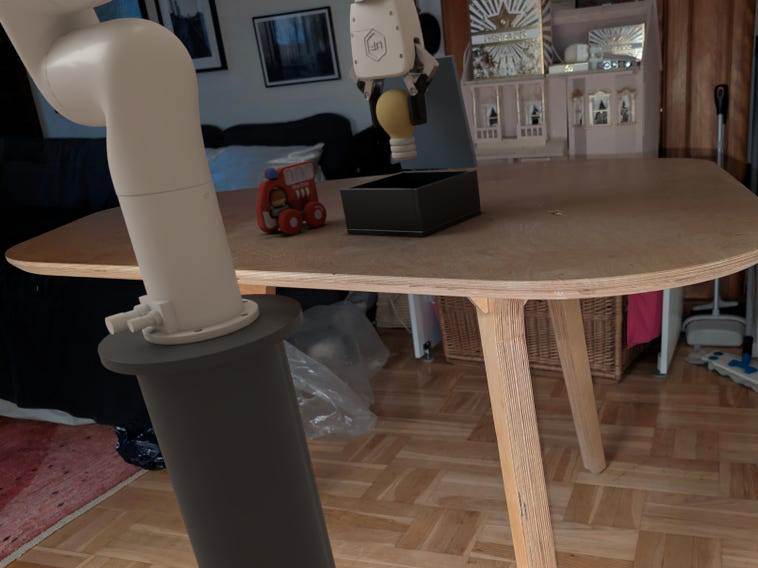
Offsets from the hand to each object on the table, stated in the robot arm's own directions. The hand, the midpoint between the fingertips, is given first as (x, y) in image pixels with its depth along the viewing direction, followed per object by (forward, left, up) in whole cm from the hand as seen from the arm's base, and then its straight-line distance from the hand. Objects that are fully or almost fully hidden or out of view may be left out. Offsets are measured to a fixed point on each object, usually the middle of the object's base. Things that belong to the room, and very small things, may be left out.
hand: (399, 124), depth 103 cm
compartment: (+1, +1, -15) cm, 15 cm away
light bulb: (0, 0, -5) cm, 5 cm away
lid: (+7, +2, 0) cm, 7 cm away
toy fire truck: (-9, +20, -15) cm, 26 cm away
